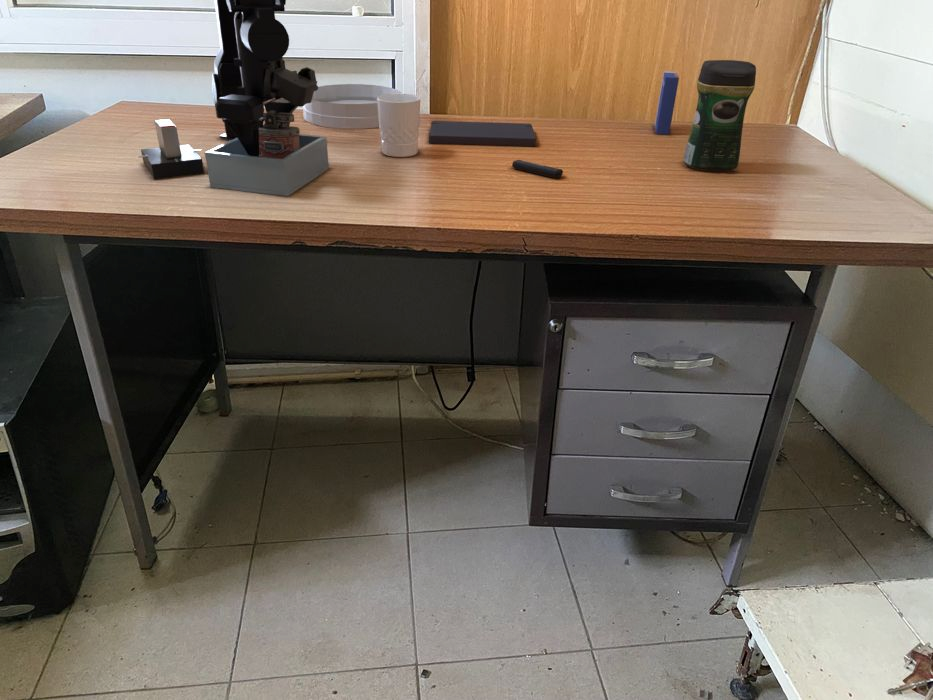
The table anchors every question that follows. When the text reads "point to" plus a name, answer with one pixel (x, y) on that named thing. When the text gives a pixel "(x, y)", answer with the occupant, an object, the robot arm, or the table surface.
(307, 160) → the basin
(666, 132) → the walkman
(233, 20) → the robot arm
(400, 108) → the white cup
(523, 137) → the notebook
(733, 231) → the table surface
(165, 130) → the red-capped metal block
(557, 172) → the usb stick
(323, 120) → the dish
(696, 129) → the coffee jar
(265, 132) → the lighter
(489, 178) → the table surface
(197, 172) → the panel
